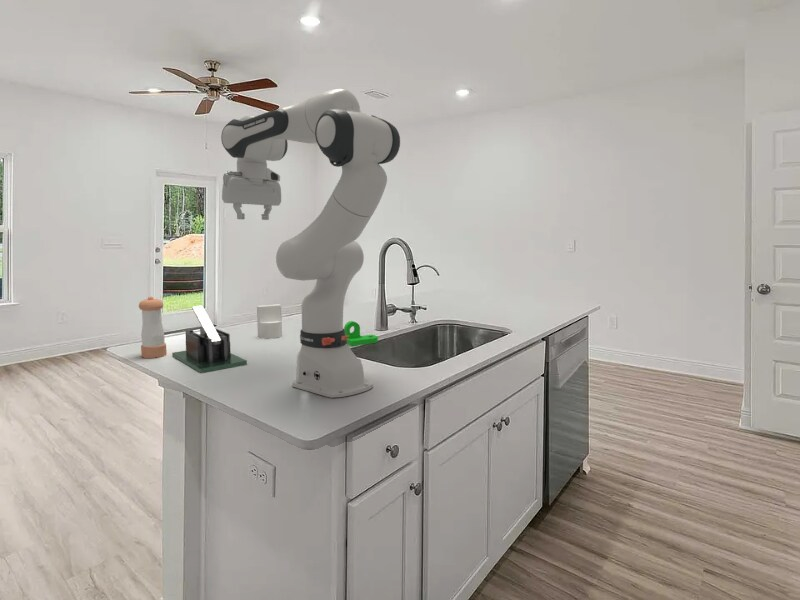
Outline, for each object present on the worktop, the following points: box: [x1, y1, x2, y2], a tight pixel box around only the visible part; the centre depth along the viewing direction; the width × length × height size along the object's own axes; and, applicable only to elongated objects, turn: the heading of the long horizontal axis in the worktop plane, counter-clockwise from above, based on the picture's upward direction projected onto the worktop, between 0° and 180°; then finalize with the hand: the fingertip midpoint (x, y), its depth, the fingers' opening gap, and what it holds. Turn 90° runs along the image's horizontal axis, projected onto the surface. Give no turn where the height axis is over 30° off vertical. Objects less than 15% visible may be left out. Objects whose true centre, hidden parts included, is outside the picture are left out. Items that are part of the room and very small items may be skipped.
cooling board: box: [171, 326, 248, 374], centre depth 153 cm, size 24×14×9 cm, turn 43°
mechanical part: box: [343, 320, 379, 347], centre depth 179 cm, size 12×6×8 cm, turn 122°
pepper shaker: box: [138, 296, 168, 359], centre depth 157 cm, size 7×7×19 cm
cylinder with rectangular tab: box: [256, 303, 283, 339], centre depth 187 cm, size 9×9×12 cm
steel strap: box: [192, 305, 223, 346], centre depth 152 cm, size 18×3×1 cm
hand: (253, 219), depth 151 cm, fingers open, 8 cm apart
